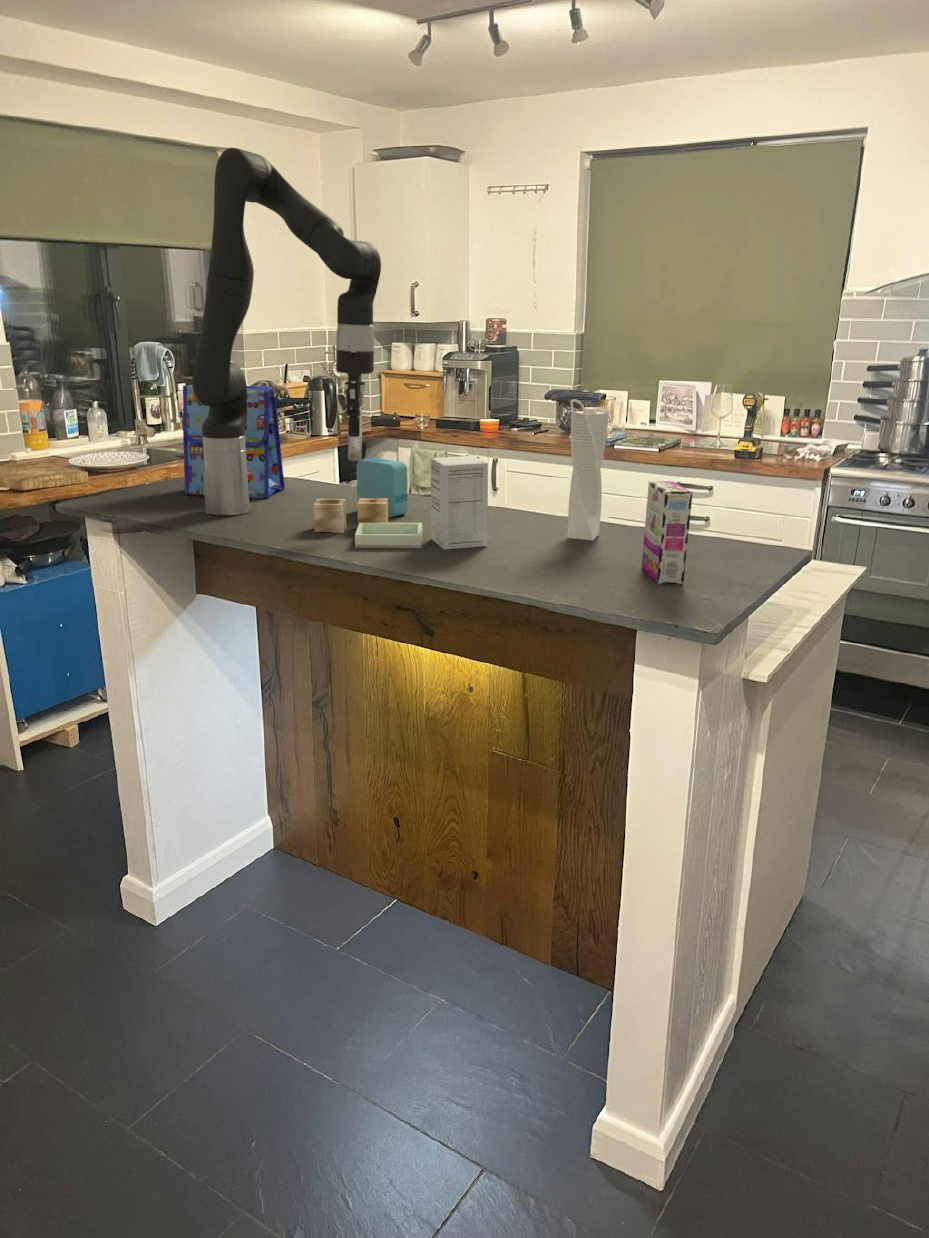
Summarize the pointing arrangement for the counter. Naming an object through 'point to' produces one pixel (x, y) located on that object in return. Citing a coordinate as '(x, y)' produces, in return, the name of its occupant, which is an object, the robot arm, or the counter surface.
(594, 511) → the skyscraper
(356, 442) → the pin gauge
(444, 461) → the supplement box
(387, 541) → the tray
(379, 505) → the oak block narrow bore
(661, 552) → the candy bar box
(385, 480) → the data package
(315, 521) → the beech block wide bore
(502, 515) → the counter surface
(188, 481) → the lunch bag
